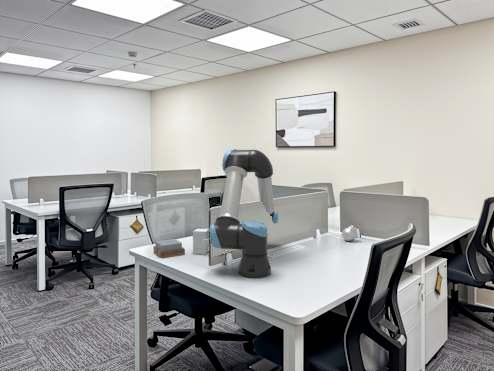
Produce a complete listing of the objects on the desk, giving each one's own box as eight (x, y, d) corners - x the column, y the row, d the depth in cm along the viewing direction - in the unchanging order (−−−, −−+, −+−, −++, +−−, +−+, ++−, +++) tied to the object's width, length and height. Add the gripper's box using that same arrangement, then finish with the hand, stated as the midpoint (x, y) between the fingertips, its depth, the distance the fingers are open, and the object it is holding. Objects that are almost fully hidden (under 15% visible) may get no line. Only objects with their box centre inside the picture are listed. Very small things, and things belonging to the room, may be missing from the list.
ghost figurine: (353, 243, 227) (353, 227, 226) (339, 241, 234) (339, 225, 233) (360, 241, 234) (360, 225, 233) (346, 238, 240) (346, 223, 239)
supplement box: (205, 254, 203) (205, 231, 202) (192, 254, 205) (192, 231, 204) (209, 251, 211) (209, 228, 209) (197, 250, 212) (196, 228, 211)
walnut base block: (184, 256, 203) (184, 248, 203) (161, 259, 196) (161, 252, 196) (176, 250, 214) (176, 243, 214) (153, 253, 208) (153, 246, 207)
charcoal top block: (181, 248, 203) (181, 243, 203) (162, 251, 197) (161, 245, 197) (174, 244, 212) (174, 238, 212) (155, 246, 207) (155, 241, 206)
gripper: (243, 246, 207) (208, 251, 196) (222, 236, 228) (189, 241, 217) (243, 232, 206) (207, 237, 195) (222, 224, 228) (189, 228, 217)
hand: (198, 239), depth 206 cm, fingers open, 13 cm apart
